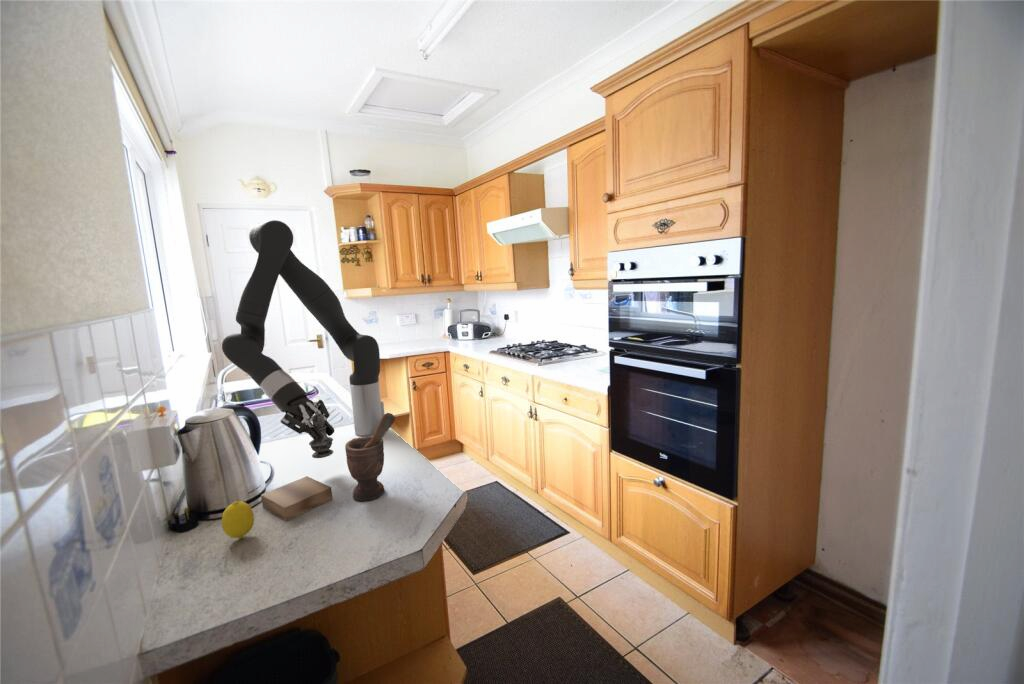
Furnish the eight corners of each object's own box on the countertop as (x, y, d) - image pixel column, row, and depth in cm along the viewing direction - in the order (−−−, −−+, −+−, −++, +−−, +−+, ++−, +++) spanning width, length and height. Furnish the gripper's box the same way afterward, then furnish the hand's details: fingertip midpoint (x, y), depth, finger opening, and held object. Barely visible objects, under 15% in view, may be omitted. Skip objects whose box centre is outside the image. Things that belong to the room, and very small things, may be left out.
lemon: (262, 532, 91) (257, 496, 90) (238, 548, 86) (232, 510, 85) (243, 528, 93) (237, 493, 92) (218, 544, 88) (212, 506, 87)
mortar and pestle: (399, 480, 112) (392, 405, 109) (402, 496, 104) (395, 414, 101) (350, 490, 108) (342, 411, 105) (350, 506, 100) (341, 422, 97)
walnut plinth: (308, 487, 111) (306, 476, 110) (332, 499, 104) (331, 487, 104) (262, 506, 102) (260, 494, 102) (286, 520, 96) (284, 507, 95)
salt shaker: (338, 449, 120) (333, 407, 118) (327, 458, 114) (321, 414, 112) (318, 449, 121) (312, 407, 119) (306, 458, 115) (300, 414, 113)
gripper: (268, 388, 110) (314, 437, 108) (309, 374, 123) (351, 418, 121) (254, 408, 112) (300, 456, 111) (296, 392, 125) (337, 435, 124)
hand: (326, 436), depth 116 cm, fingers closed on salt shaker, 3 cm apart
